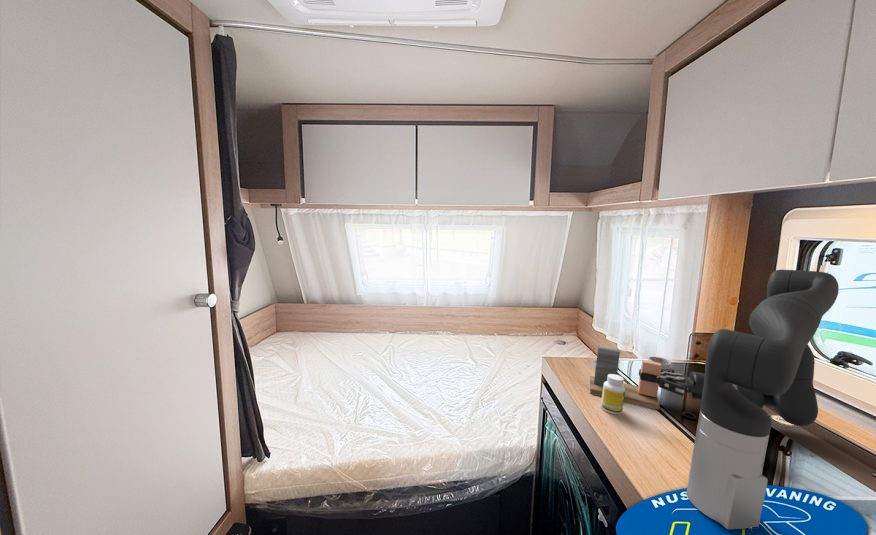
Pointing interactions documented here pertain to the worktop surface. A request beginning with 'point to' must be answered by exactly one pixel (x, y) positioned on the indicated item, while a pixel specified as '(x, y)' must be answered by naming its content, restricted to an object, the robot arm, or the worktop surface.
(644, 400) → the stand
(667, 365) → the mug
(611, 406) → the supplement bottle
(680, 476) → the worktop surface
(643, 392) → the orange rectangular block
